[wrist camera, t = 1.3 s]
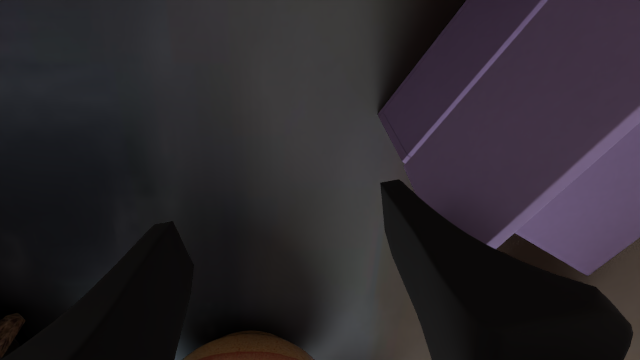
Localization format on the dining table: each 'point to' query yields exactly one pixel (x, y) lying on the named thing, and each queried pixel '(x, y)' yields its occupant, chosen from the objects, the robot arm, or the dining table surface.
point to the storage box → (570, 204)
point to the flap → (534, 118)
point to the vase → (249, 348)
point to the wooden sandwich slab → (9, 333)
